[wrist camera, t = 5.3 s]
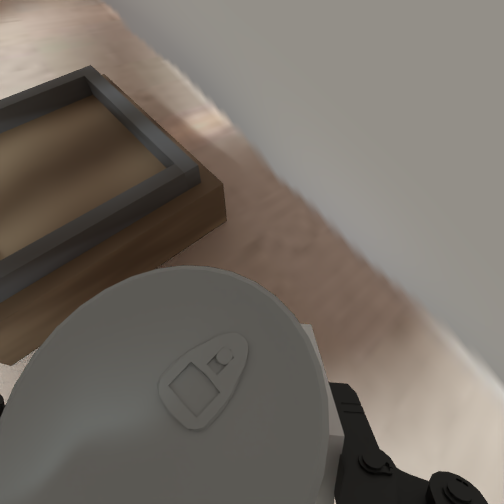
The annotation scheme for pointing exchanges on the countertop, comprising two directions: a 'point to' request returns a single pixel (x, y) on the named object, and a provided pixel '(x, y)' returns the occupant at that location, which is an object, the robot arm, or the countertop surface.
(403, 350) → the countertop surface
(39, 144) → the square wooden tray
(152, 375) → the canned food
